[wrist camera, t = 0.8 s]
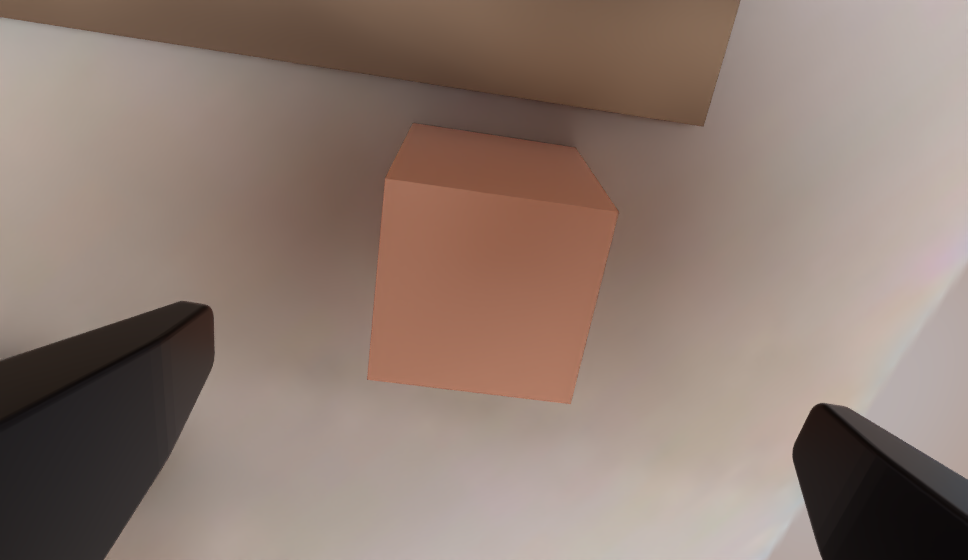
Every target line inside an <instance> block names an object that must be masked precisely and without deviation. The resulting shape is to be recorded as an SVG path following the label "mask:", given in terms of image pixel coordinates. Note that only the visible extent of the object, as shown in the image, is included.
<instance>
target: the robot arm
mask: <svg viewBox="0 0 968 560" xmlns="http://www.w3.org/2000/svg"><path fill="white" fill-rule="evenodd" d="M214 355H215V350H214V316H213V311H212V309H211V308H210V307H209V306H208V305H205V304H199V303H193V302H187V301H180V302H176V303H173V304H170V305H167V306H164V307H161V308H158V309H155V310H152V311H149V312H146V313H143V314H140V315H137V316H134V317H131V318H128V319H125V320H122V321H119V322H116V323H113V324H110V325H107V326H104V327H101V328H98V329H95V330H92V331H89V332H86V333H83V334H80V335H77V336H74V337H71V338H67V339H64V340H61V341H58V342H55V343H52V344H49V345H46V346H43V347H40V348H37V349H34V350H31V351H28V352H25V353H22V354H19V355H16V356H13V357H10V358H7V359H4V360H1V361H0V560H104V559H105V557H106V555H107V554H108V552H109V551H110V549H111V548H112V546H113V544H114V543H115V541H116V540H117V538H118V537H119V535H120V533H121V532H122V530H123V529H124V527H125V526H126V524H127V523H128V521H129V519H130V518H131V516H132V515H133V513H134V512H135V510H136V508H137V507H138V505H139V504H140V502H141V501H142V499H143V497H144V496H145V494H146V493H147V491H148V490H149V488H150V486H151V485H152V483H153V482H154V480H155V479H156V477H157V475H158V474H159V472H160V471H161V469H162V467H163V466H164V464H165V462H166V461H167V459H168V457H169V455H170V454H171V452H172V450H173V448H174V446H175V444H176V442H177V440H178V438H179V436H180V434H181V432H182V429H183V427H184V425H185V423H186V421H187V419H188V417H189V415H190V413H191V411H192V409H193V407H194V405H195V402H196V400H197V398H198V396H199V394H200V392H201V390H202V388H203V386H204V384H205V382H206V380H207V378H208V375H209V373H210V371H211V369H212V366H213V362H214ZM792 455H793V463H794V466H795V470H796V473H797V477H798V480H799V484H800V487H801V490H802V494H803V497H804V501H805V504H806V508H807V511H808V515H809V518H810V522H811V525H812V529H813V532H814V536H815V539H816V542H817V545H818V549H819V552H820V555H821V557H822V559H823V560H968V479H965V478H964V477H963V476H961V475H959V474H958V473H956V472H954V471H952V470H951V469H949V468H948V467H945V466H944V465H943V464H941V463H939V462H938V461H936V460H934V459H933V458H931V457H929V456H927V455H926V454H924V453H923V452H921V451H919V450H918V449H916V448H914V447H913V446H911V445H909V444H908V443H906V442H904V441H903V440H901V439H899V438H898V437H896V436H894V435H893V434H891V433H889V432H888V431H886V430H885V429H883V428H881V427H880V426H878V425H876V424H875V423H873V422H871V421H870V420H868V419H866V418H865V417H863V416H861V415H860V414H858V413H856V412H855V411H853V410H851V409H850V408H848V407H844V406H840V405H833V404H827V403H819V404H817V405H815V406H814V407H813V408H812V410H811V411H810V413H809V415H808V417H807V419H806V421H805V423H804V425H803V427H802V429H801V431H800V433H799V435H798V437H797V439H796V441H795V444H794V447H793V454H792Z"/></svg>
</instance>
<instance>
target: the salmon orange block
mask: <svg viewBox="0 0 968 560" xmlns="http://www.w3.org/2000/svg"><path fill="white" fill-rule="evenodd" d="M618 214H619V211H618V210H617V209H616V207H615V206H614V204H613V203H612V201H611V200H610V198H609V197H608V195H607V194H606V192H605V191H604V189H603V188H602V186H601V185H600V183H599V182H598V180H597V179H596V177H595V176H594V174H593V173H592V171H591V170H590V168H589V167H588V165H587V164H586V162H585V161H584V159H583V158H582V157H581V155H580V154H579V152H578V151H577V149H576V148H575V147H569V146H563V145H556V144H549V143H543V142H536V141H529V140H523V139H516V138H510V137H503V136H496V135H490V134H483V133H476V132H470V131H463V130H457V129H450V128H443V127H437V126H430V125H424V124H417V123H413V124H412V126H411V128H410V130H409V132H408V134H407V136H406V138H405V140H404V142H403V144H402V146H401V148H400V150H399V152H398V154H397V156H396V158H395V160H394V162H393V164H392V166H391V168H390V170H389V172H388V174H387V176H386V178H385V185H384V196H383V207H382V219H381V230H380V241H379V252H378V264H377V275H376V286H375V297H374V308H373V320H372V331H371V342H370V353H369V365H368V376H367V380H375V381H383V382H392V383H400V384H408V385H417V386H425V387H433V388H442V389H450V390H458V391H467V392H475V393H483V394H492V395H500V396H508V397H517V398H525V399H533V400H542V401H550V402H558V403H567V404H571V400H572V396H573V392H574V388H575V384H576V380H577V376H578V372H579V368H580V364H581V360H582V356H583V352H584V349H585V345H586V341H587V337H588V333H589V329H590V325H591V321H592V317H593V313H594V309H595V305H596V301H597V297H598V293H599V289H600V285H601V281H602V277H603V273H604V269H605V265H606V261H607V257H608V253H609V249H610V245H611V241H612V237H613V233H614V229H615V225H616V222H617V218H618Z"/></svg>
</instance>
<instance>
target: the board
mask: <svg viewBox="0 0 968 560" xmlns="http://www.w3.org/2000/svg"><path fill="white" fill-rule="evenodd" d="M739 4H740V0H0V17H4V18H10V19H17V20H23V21H30V22H36V23H43V24H49V25H55V26H62V27H68V28H75V29H81V30H87V31H94V32H100V33H107V34H113V35H119V36H126V37H132V38H139V39H145V40H152V41H158V42H164V43H171V44H177V45H184V46H190V47H196V48H203V49H209V50H216V51H222V52H229V53H235V54H241V55H248V56H254V57H261V58H267V59H273V60H280V61H286V62H293V63H299V64H305V65H312V66H318V67H325V68H331V69H338V70H344V71H350V72H357V73H363V74H370V75H376V76H382V77H389V78H395V79H402V80H408V81H415V82H421V83H427V84H434V85H440V86H447V87H453V88H459V89H466V90H472V91H479V92H485V93H491V94H498V95H504V96H511V97H517V98H524V99H530V100H536V101H543V102H549V103H556V104H562V105H568V106H575V107H581V108H588V109H594V110H601V111H607V112H613V113H620V114H626V115H633V116H639V117H645V118H652V119H658V120H665V121H671V122H677V123H684V124H690V125H697V126H704V123H705V120H706V116H707V113H708V109H709V106H710V103H711V99H712V96H713V92H714V89H715V85H716V82H717V79H718V75H719V72H720V68H721V65H722V62H723V58H724V55H725V51H726V48H727V45H728V41H729V38H730V34H731V31H732V27H733V24H734V21H735V17H736V14H737V10H738V7H739Z"/></svg>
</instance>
